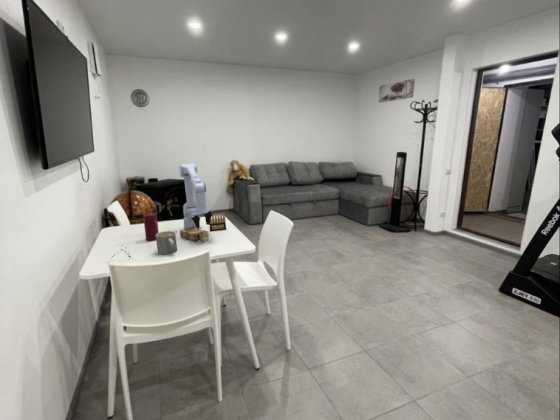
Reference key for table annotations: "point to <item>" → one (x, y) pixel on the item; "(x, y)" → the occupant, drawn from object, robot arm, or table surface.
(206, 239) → the tan wooden block
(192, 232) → the lid
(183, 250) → the table surface
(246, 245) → the table surface
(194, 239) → the wooden box
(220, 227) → the ammunition clip
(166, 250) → the coffee mug
